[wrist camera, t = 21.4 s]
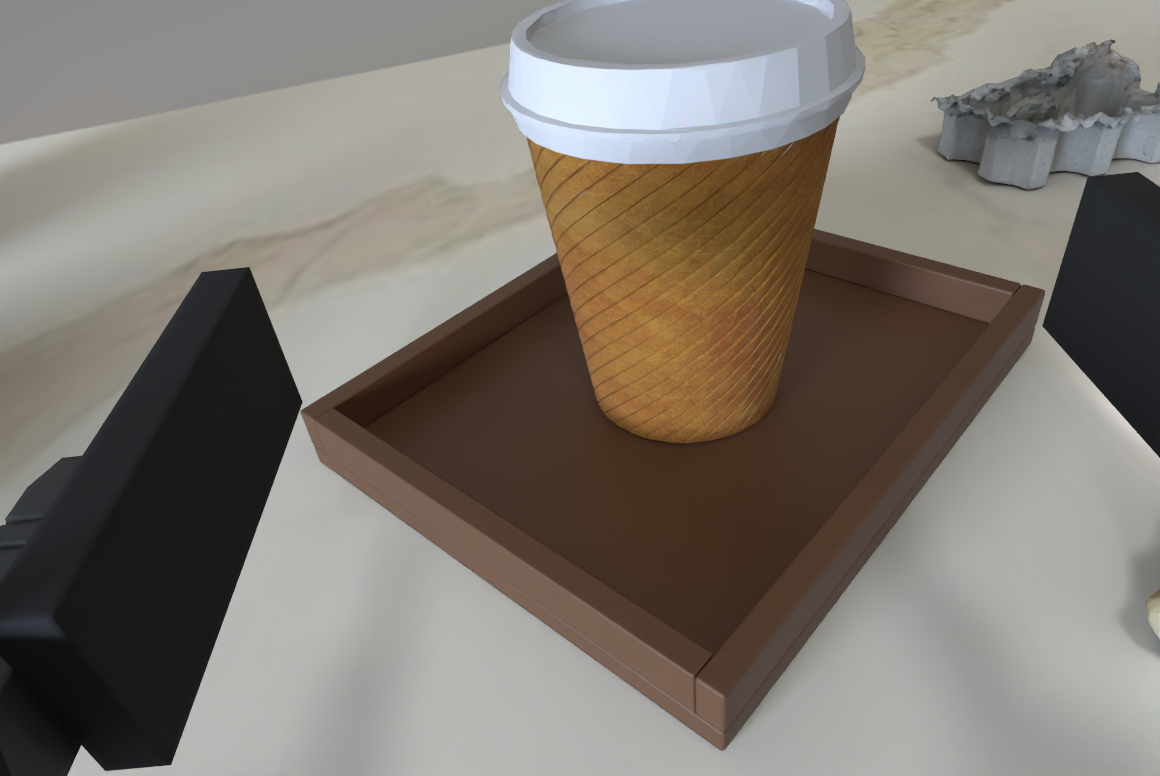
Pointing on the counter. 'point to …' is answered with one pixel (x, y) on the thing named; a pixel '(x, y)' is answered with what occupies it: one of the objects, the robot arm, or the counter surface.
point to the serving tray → (680, 466)
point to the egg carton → (1055, 119)
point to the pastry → (1154, 612)
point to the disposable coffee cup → (683, 189)
